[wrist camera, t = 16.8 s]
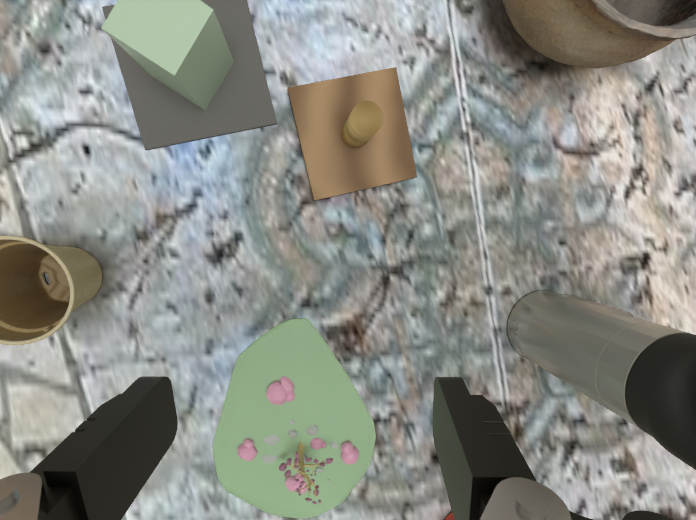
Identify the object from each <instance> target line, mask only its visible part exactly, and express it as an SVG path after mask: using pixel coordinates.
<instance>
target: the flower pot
mask: <svg viewBox="0 0 696 520" xmlns="http://www.w3.org/2000/svg"><path fill="white" fill-rule="evenodd" d="M44 273H47V274H48V279H49V282H50V284H47V282H46V280H45V277H44ZM101 284H102V270H101V267H100V265H99V263H98V262H97V260H96V259H95V258H94V257H93V256H91V255H90V254H89V253H87V252H86V251H84V250H82V249H80V248H76V247H66V246H53V245H44V244H42V243H40V242H37V241H35V240H32V239H29V238H25V237H20V236H0V344H6V345H24V344H29V343H33V342H37V341H40V340H42V339H44V338H46V337H48V336H50V335H52V334H53V333H55V332H56V331H57V330H59V329H60V328H61V327H62V326H63V325H64V324H65V322H66V321H67V320H68V318H69V316H70V314H71V312H72V311H74V310H75V309H77V308H78V307H79V306H81V305H82V304H84V303H85V302H86V301H88V300H90V299H91V298H92V297H93V296H94V295H95V294H96V293H97V292H98V290H99V288H100V287H101Z"/></svg>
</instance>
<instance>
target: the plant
mask: <svg viewBox="0 0 696 520" xmlns="http://www.w3.org/2000/svg"><path fill="white" fill-rule="evenodd" d="M375 439H376V434H375V427H374V422H373V420H372V418H371V416H370V414H369V413H368V411H367V409H366V407H365V405H364V403H363V402H362V400H361V398H360V396H359V394H358V392H357V391H356V389H355V387H354V385H353V383H352V381H351V379H350V378H349V376H348V375H347V373H346V372H345V370H344V369H343V367H342V366H341V364H340V363H339V361H338V360H337V358H336V357H335V355H334V354H333V353H332V351H331V350H330V348H329V347H328V345H327V344H326V342H325V341H324V339H323V338H322V336H321V335H320V333H319V332H318V331H317V329H316V328H315V327H314V326H313V324H312V323H311V322H310V321H309V319H299V318H296V319H290V320H287V321H285V322H283V323H281V324H279V325H277V326H275V327H274V328H272V329H271V330H269V331H268V332H267V333H265V334H264V335H262V336H261V337H260V338H259V339H257V340H256V341H255V342H254V343H252V344H251V345H250V346H249V347H248V348H247V349H246V350H245V351H243V352H242V353H241V354H240V355H239V357H238V358H237V361H236V364H235V367H234V371H233V374H232V377H231V381H230V384H229V388H228V392H227V395H226V399H225V402H224V406H223V409H222V413H221V417H220V420H219V424H218V427H217V431H216V435H215V438H214V442H213V456H214V462H215V466H216V471H217V476H218V479H219V481H220V483H221V484H222V486H223V487H224V488H225V490H226V491H228V492H230V493H231V494H233V495H235V496H237V497H239V498H240V499H242V500H244V501H246V502H248V503H250V504H251V505H253V506H255V507H257V508H259V509H261V510H262V511H264V512H266V513H269V514H272V515H277V516H283V517H291V518H310V517H314V516H317V515H319V514H322V513H324V512H326V511H328V510H330V509H332V508H333V507H335V506H337V505H339V504H340V503H341V502H342V501H343V500H344V499H345V498H346V497H347V496H348V495H349V493H350V492H351V491H352V489H353V488H354V487H355V486H356V484H357V483H358V482H359V480H360V479H361V478H362V476H363V475H364V473H365V472H366V470H367V468H368V467H369V465H370V462H371V459H372V456H373V451H374V445H375Z"/></svg>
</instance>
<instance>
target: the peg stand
mask: <svg viewBox="0 0 696 520" xmlns="http://www.w3.org/2000/svg"><path fill="white" fill-rule="evenodd" d="M288 94H289V99H290V103H291V107H292V111H293V116H294V120H295V124H296V128H297V132H298V137H299V141H300V145H301V149H302V153H303V158H304V162H305V166H306V170H307V174H308V179H309V183H310V187H311V191H312V195H313V200H314V201H315V200H320V199H324V198H328V197H333V196H337V195H342V194H346V193H351V192H355V191H359V190H364V189H368V188H373V187H377V186H381V185H386V184H390V183H395V182H399V181H404V180H408V179H412V178H416V177H417V174H416V169H415V164H414V159H413V154H412V148H411V143H410V138H409V133H408V127H407V122H406V117H405V112H404V107H403V101H402V96H401V91H400V86H399V81H398V75H397V70H396V67H395V68H390V69H384V70H379V71H374V72H369V73H363V74H358V75H353V76H348V77H342V78H337V79H332V80H327V81H321V82H316V83H311V84H306V85H300V86H295V87H290V88H288Z"/></svg>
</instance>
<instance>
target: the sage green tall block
mask: <svg viewBox="0 0 696 520" xmlns="http://www.w3.org/2000/svg"><path fill="white" fill-rule="evenodd" d="M102 29H103V30H104V31H105V32H106V33H107V34H108V35H109V36H110V37H111V38H112V39H113V40H114V41H115V42H117V43H118V44H119V45H120V46H121V47H122V48H123V49H124V50H125V51H126V52H127V53H128V54H129V55H130V56H131V57H132V58H133V59H134V60H135V61H136V62H137V63H138V64H139V65H140V66H142V67H143V68H144V69H145V70H146V71H147V72H148V73H149V74H150V75H151V76H152V77H154V78H155V79H157V80H158V81H160V82H161V83H163V84H164V85H166V86H167V87H169V88H171V89H172V90H174V91H175V92H177V93H178V94H180V95H181V96H183V97H185V98H186V99H188V100H189V101H191V102H192V103H194V104H195V105H197V106H198V107H200V108H202V109H203V110H206V108H207V107H208V105H209V103H210V102H211V100H212V98H213V97H214V95H215V93H216V92H217V90H218V88H219V87H220V85H221V83H222V81H223V80H224V78H225V76H226V75H227V73H228V71H229V70H230V68H231V66H232V65H233V63H234V60H233V57H232V55H231V52H230V50H229V47H228V45H227V42H226V40H225V37H224V35H223V32H222V30H221V27H220V25H219V22H218V20H217V17H216V15H215V12H214V10H213V9H212V8H210V7H209V6H208V5H206V4H205V3H203V2H202V1H201V0H117V2H116V4H115V5H114V7H113V9H112V11H111V12H110V14H109V16H108V18H107V19H106V21H105V23H104V24H103V26H102Z"/></svg>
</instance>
